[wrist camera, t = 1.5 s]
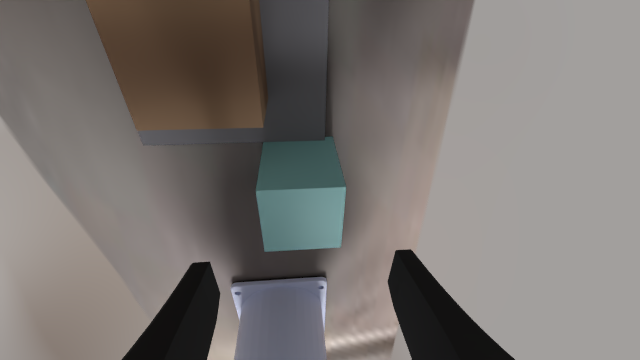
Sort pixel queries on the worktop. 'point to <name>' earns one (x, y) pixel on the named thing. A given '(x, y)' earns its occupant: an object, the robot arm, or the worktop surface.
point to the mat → (279, 80)
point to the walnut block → (186, 61)
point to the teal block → (300, 195)
